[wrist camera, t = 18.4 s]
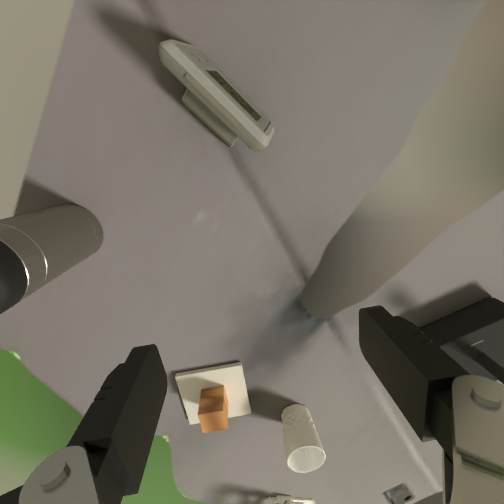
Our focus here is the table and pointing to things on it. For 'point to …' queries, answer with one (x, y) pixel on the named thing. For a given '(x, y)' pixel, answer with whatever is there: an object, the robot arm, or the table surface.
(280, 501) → the film strip holder
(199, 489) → the table surface
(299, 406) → the white cup
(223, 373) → the pad
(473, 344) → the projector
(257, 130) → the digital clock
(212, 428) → the orange block
